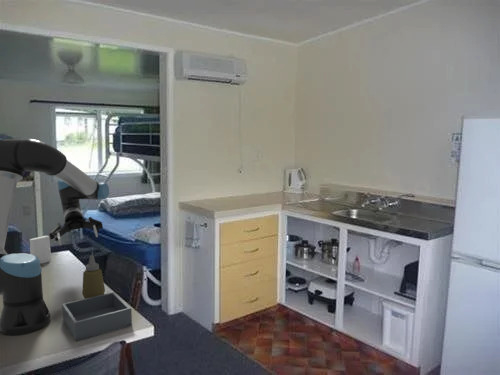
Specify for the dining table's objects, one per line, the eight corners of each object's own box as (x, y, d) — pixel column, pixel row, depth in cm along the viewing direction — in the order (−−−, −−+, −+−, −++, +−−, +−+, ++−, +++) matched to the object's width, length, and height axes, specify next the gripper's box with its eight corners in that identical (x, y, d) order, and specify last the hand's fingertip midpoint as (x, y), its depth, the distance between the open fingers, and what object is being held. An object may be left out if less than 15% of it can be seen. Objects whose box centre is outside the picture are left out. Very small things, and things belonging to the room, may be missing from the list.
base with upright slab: (44, 257, 214) (42, 234, 212) (54, 260, 209) (53, 236, 208) (27, 262, 206) (25, 238, 205) (38, 264, 202) (36, 240, 200)
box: (131, 325, 137) (131, 308, 136) (75, 341, 126) (74, 322, 126) (114, 307, 151) (113, 292, 150) (63, 320, 141) (61, 304, 140)
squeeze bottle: (82, 299, 159) (79, 254, 156) (104, 295, 162) (101, 251, 160) (83, 307, 151) (80, 259, 149) (106, 303, 155) (104, 256, 152)
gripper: (104, 220, 187) (112, 239, 169) (44, 233, 177) (45, 254, 159) (102, 205, 184) (109, 222, 166) (40, 217, 174) (41, 236, 156)
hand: (78, 238), depth 162 cm, fingers open, 13 cm apart
